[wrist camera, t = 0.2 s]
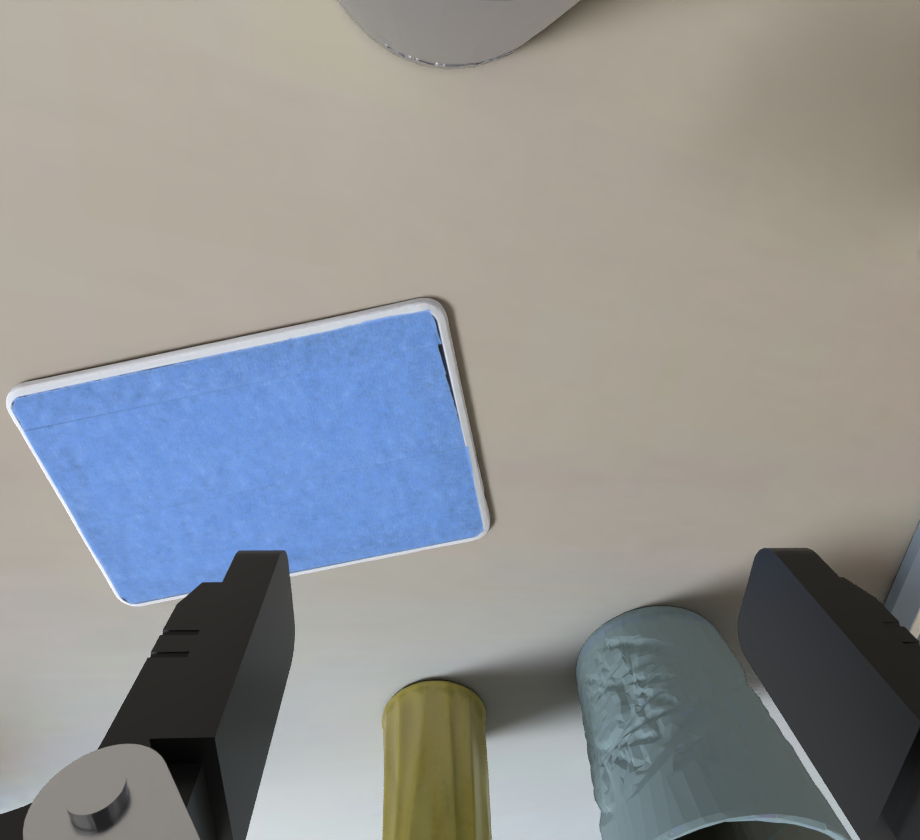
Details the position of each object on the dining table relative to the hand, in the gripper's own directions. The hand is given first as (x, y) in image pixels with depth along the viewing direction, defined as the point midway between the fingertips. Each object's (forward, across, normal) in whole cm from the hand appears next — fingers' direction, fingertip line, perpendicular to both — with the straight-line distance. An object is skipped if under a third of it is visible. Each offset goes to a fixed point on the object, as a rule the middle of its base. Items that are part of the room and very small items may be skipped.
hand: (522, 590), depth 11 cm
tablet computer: (+18, +9, +7) cm, 22 cm away
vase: (+18, +1, +24) cm, 30 cm away
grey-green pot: (+18, -11, +20) cm, 29 cm away
